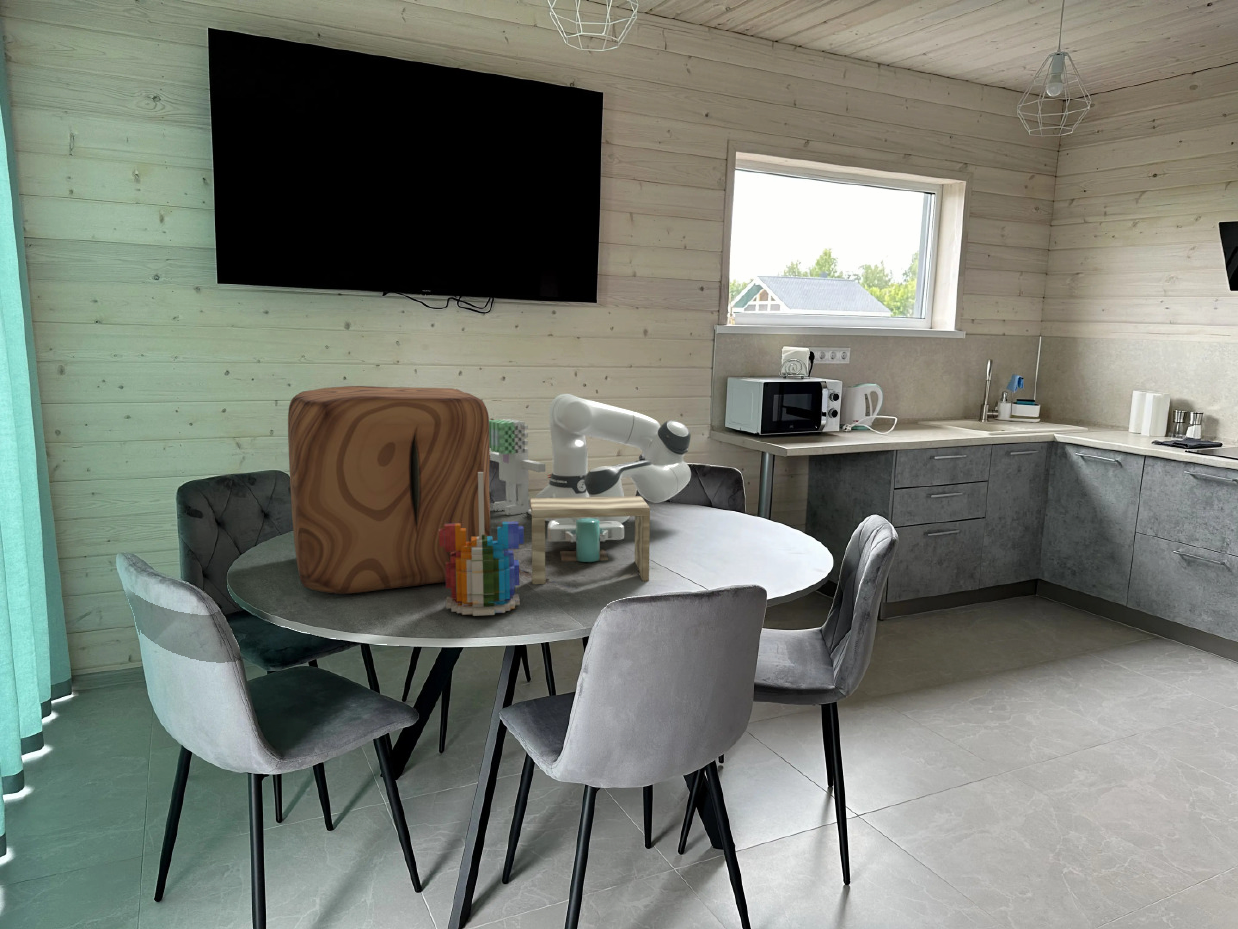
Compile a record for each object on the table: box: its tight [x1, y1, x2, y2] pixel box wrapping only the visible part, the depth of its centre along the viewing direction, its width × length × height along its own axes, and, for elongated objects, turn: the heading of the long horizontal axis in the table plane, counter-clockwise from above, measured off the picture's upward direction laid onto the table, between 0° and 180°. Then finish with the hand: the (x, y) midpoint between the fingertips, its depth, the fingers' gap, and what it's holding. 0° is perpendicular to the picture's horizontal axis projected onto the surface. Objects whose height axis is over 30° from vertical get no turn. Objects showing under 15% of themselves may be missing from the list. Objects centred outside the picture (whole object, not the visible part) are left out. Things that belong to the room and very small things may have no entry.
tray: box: [559, 549, 609, 562], centre depth 231 cm, size 10×12×1 cm
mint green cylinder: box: [575, 518, 601, 563], centre depth 225 cm, size 6×6×10 cm
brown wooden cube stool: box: [287, 385, 491, 595], centre depth 216 cm, size 45×45×45 cm
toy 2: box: [489, 418, 546, 516], centre depth 285 cm, size 30×10×30 cm, turn 39°
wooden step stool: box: [529, 495, 651, 585], centre depth 215 cm, size 14×28×18 cm, turn 97°
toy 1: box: [439, 472, 525, 617], centre depth 188 cm, size 18×16×30 cm
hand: (588, 538), depth 224 cm, fingers closed on mint green cylinder, 6 cm apart
